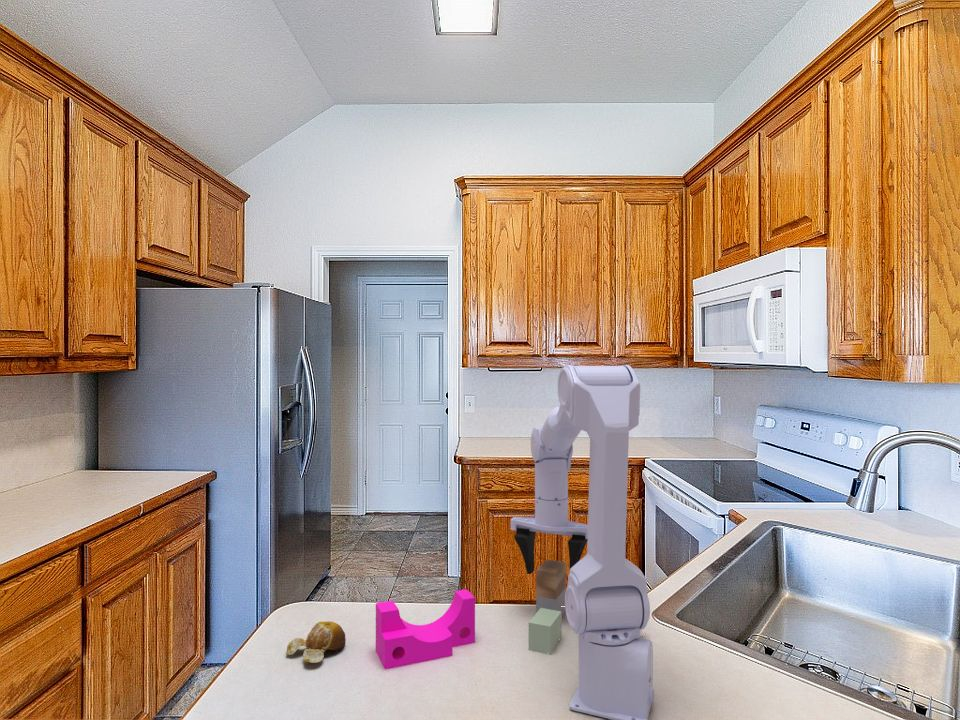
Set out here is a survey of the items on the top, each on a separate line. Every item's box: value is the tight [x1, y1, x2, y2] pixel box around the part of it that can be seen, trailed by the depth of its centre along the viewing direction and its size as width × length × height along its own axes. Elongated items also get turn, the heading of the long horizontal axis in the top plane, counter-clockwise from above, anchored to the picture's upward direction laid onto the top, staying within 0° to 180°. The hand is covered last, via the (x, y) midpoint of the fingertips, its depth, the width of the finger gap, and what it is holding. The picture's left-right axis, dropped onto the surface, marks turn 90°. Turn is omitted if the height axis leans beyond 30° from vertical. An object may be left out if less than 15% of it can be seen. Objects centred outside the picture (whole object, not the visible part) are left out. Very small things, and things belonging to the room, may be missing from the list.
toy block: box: [375, 589, 476, 671], centre depth 90 cm, size 15×6×8 cm, turn 112°
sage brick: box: [528, 608, 562, 655], centre depth 92 cm, size 4×6×4 cm, turn 156°
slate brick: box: [535, 587, 567, 617], centre depth 102 cm, size 4×6×4 cm, turn 156°
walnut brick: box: [535, 559, 567, 600], centre depth 102 cm, size 4×6×4 cm, turn 155°
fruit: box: [285, 620, 347, 664], centre depth 90 cm, size 8×8×4 cm
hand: (551, 575), depth 102 cm, fingers open, 7 cm apart
